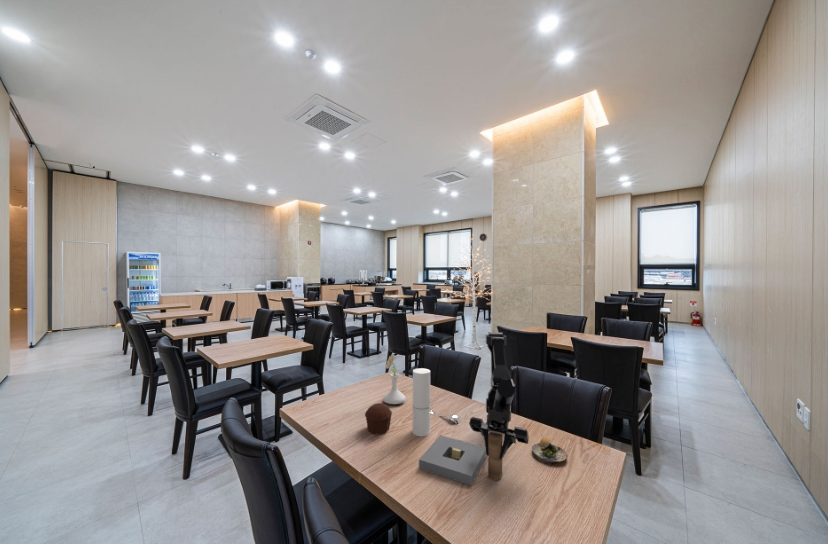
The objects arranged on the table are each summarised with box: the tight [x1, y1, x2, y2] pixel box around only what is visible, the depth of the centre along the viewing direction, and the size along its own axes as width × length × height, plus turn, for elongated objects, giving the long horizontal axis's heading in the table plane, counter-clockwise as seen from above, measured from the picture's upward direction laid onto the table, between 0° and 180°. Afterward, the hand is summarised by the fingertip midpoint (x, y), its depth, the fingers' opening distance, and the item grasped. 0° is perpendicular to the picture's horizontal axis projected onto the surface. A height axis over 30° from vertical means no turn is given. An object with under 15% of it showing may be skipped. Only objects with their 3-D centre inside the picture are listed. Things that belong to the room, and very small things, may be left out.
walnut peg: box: [487, 431, 503, 482], centre depth 101 cm, size 4×4×13 cm
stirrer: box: [430, 408, 461, 425], centre depth 143 cm, size 20×4×5 cm
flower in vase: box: [382, 353, 406, 405], centre depth 158 cm, size 13×11×25 cm
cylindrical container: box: [412, 367, 431, 437], centre depth 129 cm, size 7×7×25 cm
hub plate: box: [418, 434, 488, 486], centre depth 108 cm, size 18×18×3 cm
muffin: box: [364, 402, 393, 436], centre depth 131 cm, size 12×11×10 cm
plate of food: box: [531, 435, 568, 466], centre depth 113 cm, size 12×12×8 cm
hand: (494, 457), depth 100 cm, fingers closed on walnut peg, 4 cm apart
